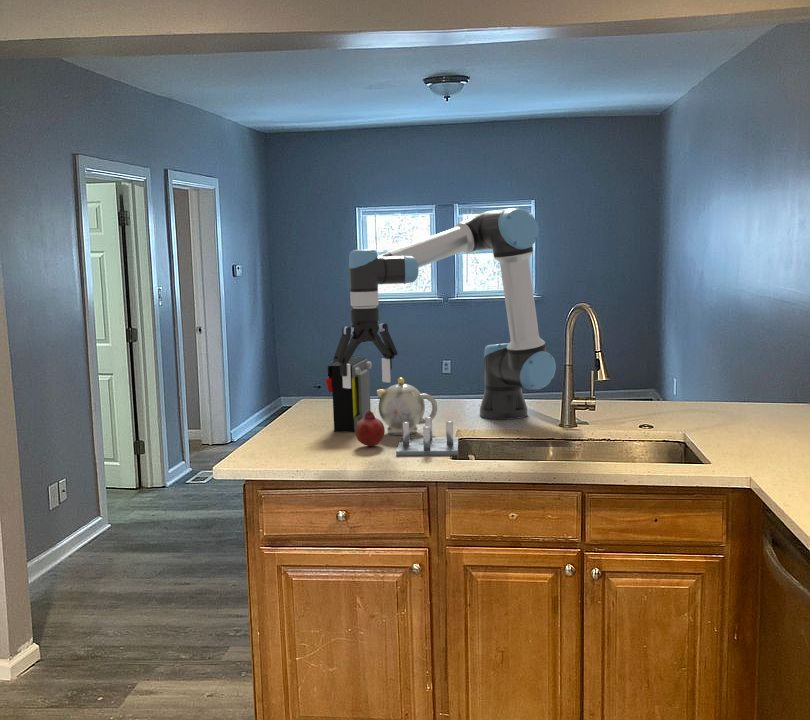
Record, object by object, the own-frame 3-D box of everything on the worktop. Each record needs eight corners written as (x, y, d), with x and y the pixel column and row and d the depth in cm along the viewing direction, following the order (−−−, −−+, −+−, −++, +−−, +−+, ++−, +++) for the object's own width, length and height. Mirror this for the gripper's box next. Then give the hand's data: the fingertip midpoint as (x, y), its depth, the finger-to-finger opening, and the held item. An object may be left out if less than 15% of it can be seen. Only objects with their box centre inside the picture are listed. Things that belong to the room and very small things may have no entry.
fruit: (388, 443, 236) (387, 408, 234) (381, 450, 228) (379, 414, 227) (360, 442, 237) (359, 407, 236) (352, 449, 230) (350, 413, 228)
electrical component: (361, 432, 251) (358, 365, 249) (328, 431, 254) (325, 365, 251) (374, 420, 269) (372, 357, 266) (343, 419, 271) (341, 357, 268)
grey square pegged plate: (458, 441, 236) (457, 415, 235) (457, 455, 220) (456, 428, 219) (401, 442, 237) (400, 416, 236) (396, 455, 221) (395, 428, 220)
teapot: (372, 437, 244) (370, 381, 242) (382, 427, 257) (380, 374, 255) (434, 438, 240) (432, 381, 238) (441, 428, 254) (439, 374, 252)
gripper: (391, 304, 239) (393, 378, 242) (318, 309, 223) (321, 389, 226) (408, 304, 233) (410, 380, 236) (334, 310, 217) (337, 392, 220)
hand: (367, 385), depth 231 cm, fingers open, 13 cm apart
